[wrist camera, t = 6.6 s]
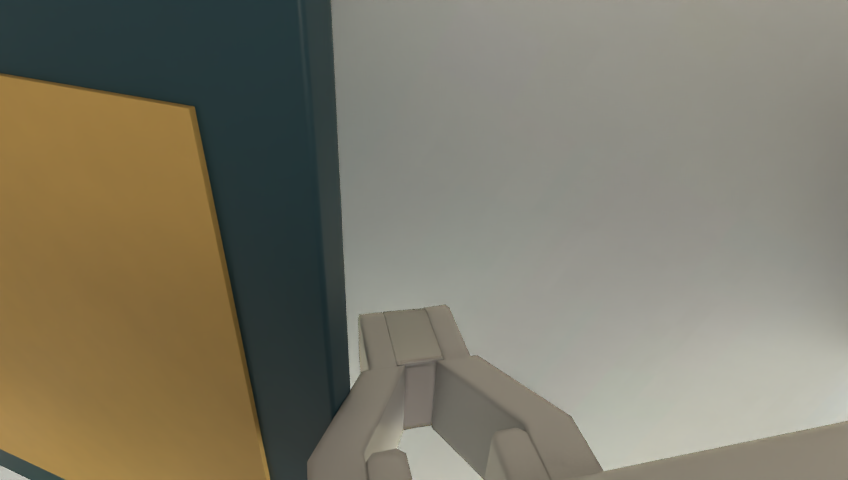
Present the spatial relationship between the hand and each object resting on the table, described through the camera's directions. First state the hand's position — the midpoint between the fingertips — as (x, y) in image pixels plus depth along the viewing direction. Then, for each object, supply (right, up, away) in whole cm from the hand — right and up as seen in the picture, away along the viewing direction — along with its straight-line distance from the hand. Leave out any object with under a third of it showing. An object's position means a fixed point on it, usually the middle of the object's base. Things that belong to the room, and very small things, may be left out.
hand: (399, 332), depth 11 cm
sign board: (-7, 0, 0) cm, 7 cm away
